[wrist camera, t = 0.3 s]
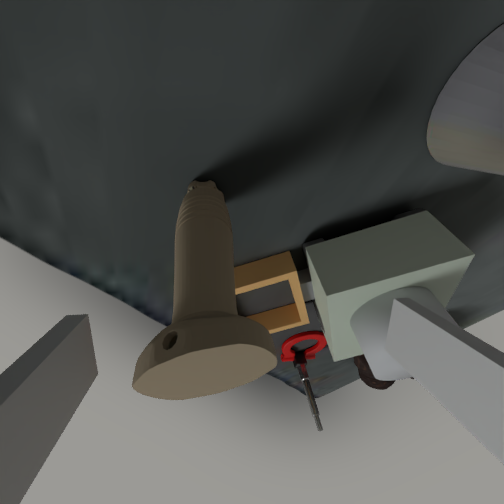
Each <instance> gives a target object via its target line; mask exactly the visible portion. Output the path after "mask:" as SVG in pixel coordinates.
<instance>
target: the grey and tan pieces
mask: <svg viewBox="0 0 504 504" xmlns="http://www.w3.org/2000/svg"><path fill="white" fill-rule="evenodd" d="M302 247H303V252H304V256H305V260H306V264H307V267H308V268H307V269H303V270H300V271H296V268H295V265H294V262H293V259H292V257H291V254H290V251H287V252H284V253H281V254H277V255H274V256H271V257H267V258H264V259H261V260H258V261H254V262H251V263H248V264H244V265H241V266H238V267H235V268H234V279H235V294H240V293H243V292H246V291H250V290H253V289H257V288H260V287H264V286H267V285H270V284H274V283H277V282H281V281H284V280H287V279H289V283H290V286H291V289H292V293H293V296H294V300H295V303H294V304H290V305H287V306H283V307H279V308H276V309H272V310H269V311H265V312H262V313H258V314H255V315H251V316H248V317H247V318H250V319H252V320H254V321H256V322H258V323H260V324H261V325H263V326H264V327H265V328H266V329H267V330H268V331H269V333H270V334H271V333H274V332H278V331H282V330H285V329H289V328H293V327H296V326H300V325H304V324H307V323H309V319H308V315H307V311H306V307H305V303H304V302H306V301H309V300H313V303H314V307H315V310H316V313H317V316H318V319H319V322H320V325H321V327H322V330H323V333H324V336H325V338H326V341H327V344H328V346H329V349H330V352H331V354H332V357H333V360H334V362H335V361H339V360H343V359H347V358H350V357H354V356H358V355H362V354H364V355H365V358H366V360H367V362H368V364H369V366H370V368H371V370H372V373H373V375H374V377H375V378H376V379H378V380H383V381H392V380H400V379H406V378H411V377H412V376H411V375H410V374H409V373H408V372H407V371H406V370H405V369H404V368H403V367H402V366H401V365H400V364H399V363H398V362H397V361H396V360H395V359H394V358H393V357H392V356H391V355H390V354H389V353H388V352H387V351H386V350H385V344H386V338H387V333H388V327H389V322H390V317H391V311H392V306H393V301H394V298H410V299H412V300H413V301H415V302H417V303H419V304H420V305H422V306H424V307H425V308H427V309H429V310H431V311H432V312H434V313H436V314H437V315H439V316H441V317H443V318H444V319H446V320H448V321H449V322H451V323H453V324H455V325H456V326H458V327H459V325H458V324H457V323H456V322H455V320H454V319H453V318H452V317H451V315H450V314H449V313H448V312H447V310H446V309H445V308H446V306H447V304H448V302H449V301H450V299H451V297H452V295H453V293H454V291H455V290H456V288H457V286H458V284H459V282H460V281H461V279H462V277H463V275H464V273H465V272H466V270H467V268H468V266H469V264H470V263H471V261H472V259H473V257H474V255H475V254H474V253H473V252H472V251H471V250H470V249H469V248H468V247H467V246H466V245H464V244H463V243H462V242H461V241H460V240H459V239H458V238H457V237H456V236H455V235H453V234H452V233H451V232H450V231H449V230H448V229H447V228H446V227H445V226H444V225H442V224H441V223H440V222H439V221H438V220H437V219H436V218H435V217H434V216H433V215H432V214H430V213H429V212H428V211H427V210H424V209H421V208H418V209H414V210H411V211H408V212H405V213H401V214H398V215H396V216H394V218H393V220H392V221H390V222H387V223H383V224H380V225H377V226H373V227H370V228H367V229H364V230H360V231H357V232H354V233H350V234H347V235H344V236H341V237H337V238H334V239H331V240H327V241H324V240H323V239H322V238H319V239H316V240H313V241H310V242H306V243H303V244H302Z"/></svg>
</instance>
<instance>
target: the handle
mask: <svg viewBox="0 0 504 504" xmlns="http://www.w3.org/2000/svg"><path fill="white" fill-rule="evenodd" d="M276 365H277V357H276V352H275V348H274V344H273V340H272V337H271V335H270V333H269V331H268V330H267V329H266V328H265V327H264V326H263V325H261V324H260V323H258V322H256V321H254V320H252V319H250V318H247V317H243V316H239V315H238V313H237V308H236V294H235V279H234V257H233V236H232V227H231V221H230V217H229V213H228V209H227V207H226V204H225V199H224V196H223V193H222V192H221V191H219V190H218V189H217V187H216V184H215V182H213V181H211V180H209V181H207V182H198V181H193V182H191V183H190V184H189V186H188V193H187V194H186V195H185V197H184V199H183V202H182V204H181V207H180V211H179V215H178V219H177V225H176V233H175V276H174V308H173V317H172V324H171V325H169V326H168V327H166V328H165V329H163V330H162V331H161V332H160V333H159V334H158V335H157V336H156V337H155V338H154V339H153V340H152V341H151V342H150V343H149V344H148V346H147V347H146V348H145V349H144V351H143V352H142V353H141V355H140V356H139V358H138V360H137V363H136V367H135V372H134V377H133V383H132V387H133V388H134V389H135V390H136V391H137V392H139V393H141V394H143V395H147V396H150V397H154V398H160V399H167V400H184V399H190V398H196V397H201V396H207V395H212V394H216V393H220V392H223V391H227V390H230V389H232V388H235V387H238V386H241V385H244V384H247V383H249V382H252V381H253V380H255V379H257V378H259V377H261V376H262V375H264V374H265V373H267V372H269V371H270V370H272V369H273V368H275V367H276Z"/></svg>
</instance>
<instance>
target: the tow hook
mask: <svg viewBox="0 0 504 504" xmlns="http://www.w3.org/2000/svg"><path fill="white" fill-rule="evenodd" d="M306 339H316V340H318V342H317V344H316V345H314V346H313V347H311V348H309V349H306V350H305V352H295V351H294V350H291V347H292V346H293V345H294V344H295V343H297V342H299V341H302V340H306ZM326 344H327V341H326V338H325V336H324V333H322V332H318V331H308V332H303V333H299V334H296V335H294V336H292V337H290V338H289V339H287V340H286V341H285V342H284V343H283V345H282V352H283V354H281V360H282V362H284V361H293V363H294V367H295V368H298V372H299V375H300V379H301V381H302V382H303V385H304V389H305V392H306V395H307V399H308V402H309V406H310V409H311V412H312V415H313V416H314V418H315V422H316V425H317V428H318V431H322V430H323V429H322V425H321V422H320V419H319V411H318V408H317V405H316V402H315V398H314V395H313V392H312V389H311V386H310V382H309V376H308V373H307V370H306V367H305V366H306V365H307V361H306V359H315V353H317V352H319V351H320V350H322V349H323V348H324V347H325V346H326Z"/></svg>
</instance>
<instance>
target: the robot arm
mask: <svg viewBox="0 0 504 504" xmlns="http://www.w3.org/2000/svg"><path fill="white" fill-rule="evenodd" d="M385 350H386V351H387V352H388V353H389V354H390V355H391V356H392V357H393V358H394V359H395V360H396V361H397V362H398V363H399V364H400V365H401V366H402V367H403V368H404V369H405V370H406V371H407V372H408V373H409V374H410V375H411V376H412V377H413V378H414V379H416V380H417V381H418V382H419V383H420V384H421V385H422V386H423V387H424V388H425V389H426V390H427V391H428V392H429V393H430V394H431V395H432V396H433V397H434V398H435V399H436V400H437V401H438V402H439V403H440V404H441V405H442V406H443V407H444V408H445V409H447V410H448V411H449V412H450V413H451V414H452V415H453V416H454V417H455V418H456V419H457V420H458V421H459V422H460V423H461V424H462V425H463V426H464V427H465V428H466V429H467V430H468V431H469V432H470V433H471V434H472V435H473V436H474V437H475V438H476V439H478V440H479V441H480V442H481V443H482V444H483V445H484V446H485V447H486V448H487V449H488V450H489V451H490V452H491V453H492V454H493V455H494V456H495V457H496V458H497V459H498V460H499V461H500V462H501V463H502V464H503V465H504V353H503V352H501V351H499V350H497V349H496V348H494V347H492V346H491V345H489V344H487V343H485V342H483V341H482V340H480V339H479V338H477V337H475V336H473V335H472V334H470V333H468V332H467V331H465V330H463V329H461V328H460V327H458V326H456V325H455V324H453V323H451V322H449V321H448V320H446V319H444V318H443V317H441V316H439V315H437V314H436V313H434V312H432V311H431V310H429V309H427V308H425V307H424V306H422V305H420V304H419V303H417V302H415V301H413V300H412V299H410V298H394V301H393V306H392V311H391V317H390V322H389V327H388V333H387V338H386V344H385ZM97 374H98V371H97V365H96V359H95V353H94V347H93V342H92V336H91V329H90V323H89V317H88V314H84V315H67V316H65V317H64V318H63V319H62V320H61V321H59V323H57V324H56V325H55V326H54V327H53V328H52V329H51V330H49V331H48V332H47V333H46V334H45V335H44V336H43V337H42V338H41V339H39V341H37V342H36V343H35V344H34V345H33V346H32V347H31V348H30V349H28V350H27V351H26V352H25V353H24V354H23V355H22V356H21V357H19V358H18V359H17V360H16V361H15V362H14V363H13V364H12V365H11V366H9V367H8V368H7V369H6V370H5V371H4V372H3V373H2V374H1V375H0V504H19V503H20V502H21V500H22V499H23V497H24V495H25V494H26V492H27V490H28V489H29V487H30V485H31V484H32V482H33V481H34V479H35V477H36V475H37V474H38V472H39V471H40V469H41V467H42V466H43V464H44V462H45V461H46V459H47V457H48V456H49V454H50V452H51V451H52V449H53V447H54V446H55V444H56V442H57V441H58V439H59V437H60V436H61V434H62V433H63V431H64V429H65V427H66V426H67V424H68V423H69V421H70V419H71V418H72V416H73V414H74V413H75V411H76V409H77V408H78V406H79V404H80V403H81V401H82V399H83V398H84V396H85V394H86V393H87V391H88V390H89V388H90V386H91V385H92V383H93V381H94V380H95V378H96V376H97Z"/></svg>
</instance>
